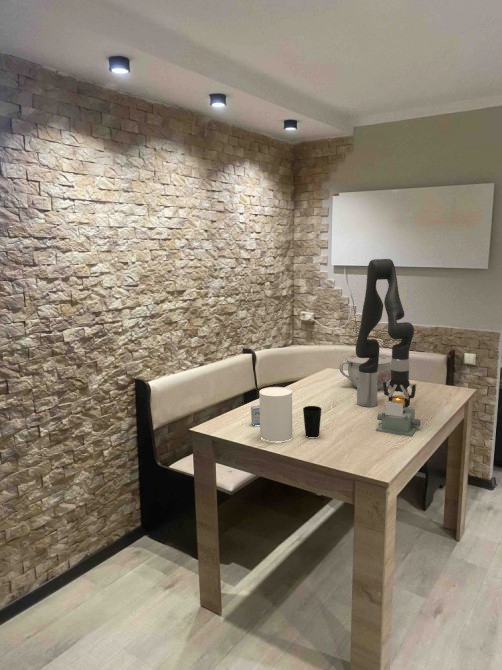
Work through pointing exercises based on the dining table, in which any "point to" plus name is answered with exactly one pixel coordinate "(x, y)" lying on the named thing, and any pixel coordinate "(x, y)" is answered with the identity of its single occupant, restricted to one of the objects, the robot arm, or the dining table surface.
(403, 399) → the orange domed cylinder
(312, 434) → the cup
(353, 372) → the chamber pot
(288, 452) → the dining table surface
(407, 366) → the robot arm
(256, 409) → the medicine box
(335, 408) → the dining table surface
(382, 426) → the grey-green knobbed device
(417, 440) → the dining table surface
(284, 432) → the canister
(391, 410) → the bar
